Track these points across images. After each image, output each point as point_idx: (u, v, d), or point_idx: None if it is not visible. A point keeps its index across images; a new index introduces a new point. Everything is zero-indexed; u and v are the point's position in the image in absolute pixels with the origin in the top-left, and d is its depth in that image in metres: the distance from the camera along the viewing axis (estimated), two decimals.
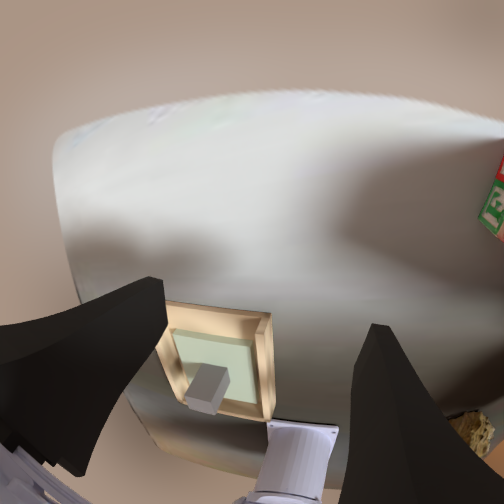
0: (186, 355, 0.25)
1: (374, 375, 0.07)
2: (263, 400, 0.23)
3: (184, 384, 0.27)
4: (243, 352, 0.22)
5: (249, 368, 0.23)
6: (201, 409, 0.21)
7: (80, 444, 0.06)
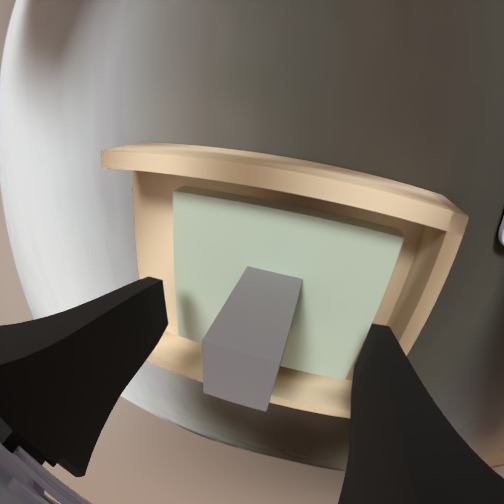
0: None
1: (374, 375, 0.07)
2: (340, 198, 0.07)
3: (331, 385, 0.12)
4: (190, 210, 0.10)
5: (242, 210, 0.10)
6: (257, 385, 0.07)
7: (80, 444, 0.06)
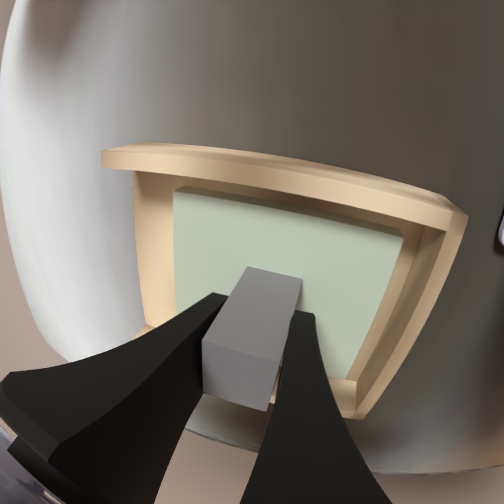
0: None
1: (283, 360, 0.07)
2: (339, 198, 0.07)
3: (331, 385, 0.12)
4: (190, 210, 0.10)
5: (242, 210, 0.10)
6: (257, 385, 0.07)
7: (151, 484, 0.05)
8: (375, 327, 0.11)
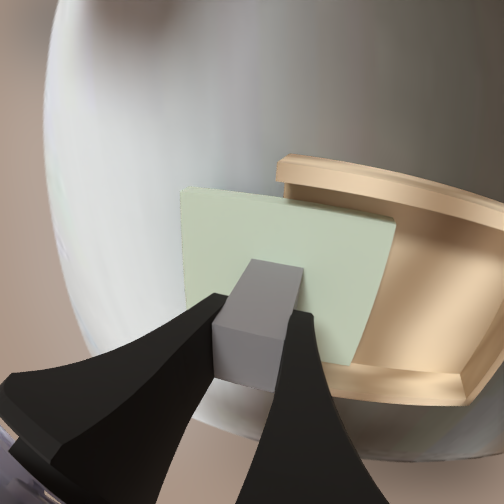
0: None
1: None
2: (502, 226, 0.07)
3: (444, 380, 0.12)
4: (197, 208, 0.11)
5: (245, 206, 0.10)
6: (264, 365, 0.08)
7: (152, 485, 0.05)
8: (484, 325, 0.10)
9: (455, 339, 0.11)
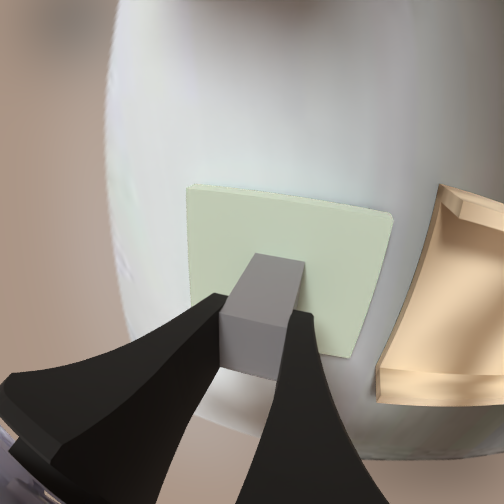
0: None
1: None
2: None
3: None
4: (202, 204, 0.11)
5: (249, 202, 0.11)
6: (268, 353, 0.08)
7: (152, 485, 0.05)
8: None
9: None
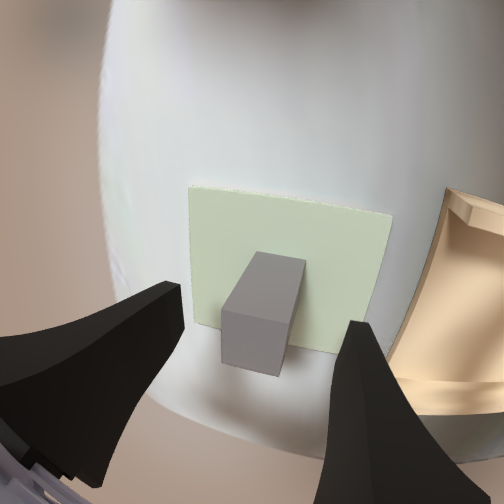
0: None
1: (349, 371, 0.07)
2: None
3: None
4: (204, 203, 0.11)
5: (250, 201, 0.11)
6: (270, 349, 0.08)
7: (98, 456, 0.06)
8: None
9: None
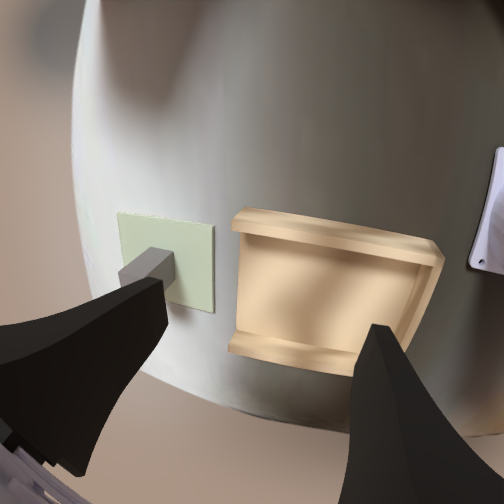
0: None
1: (374, 375, 0.07)
2: (379, 253, 0.14)
3: None
4: (124, 221, 0.20)
5: (144, 220, 0.20)
6: None
7: (80, 444, 0.06)
8: (394, 319, 0.18)
9: None
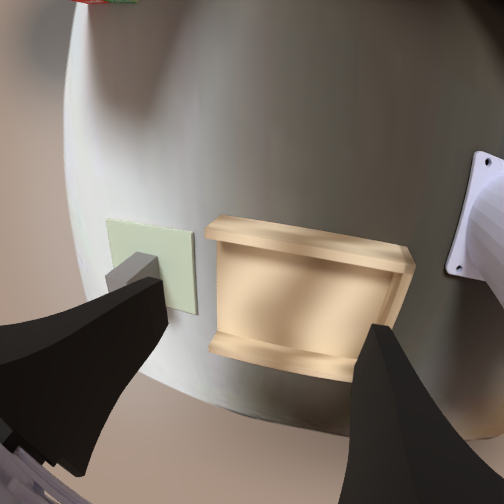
0: None
1: (374, 375, 0.07)
2: (346, 260, 0.15)
3: (344, 362, 0.20)
4: (113, 227, 0.21)
5: (130, 227, 0.21)
6: None
7: (80, 444, 0.06)
8: (369, 324, 0.18)
9: (346, 332, 0.19)
